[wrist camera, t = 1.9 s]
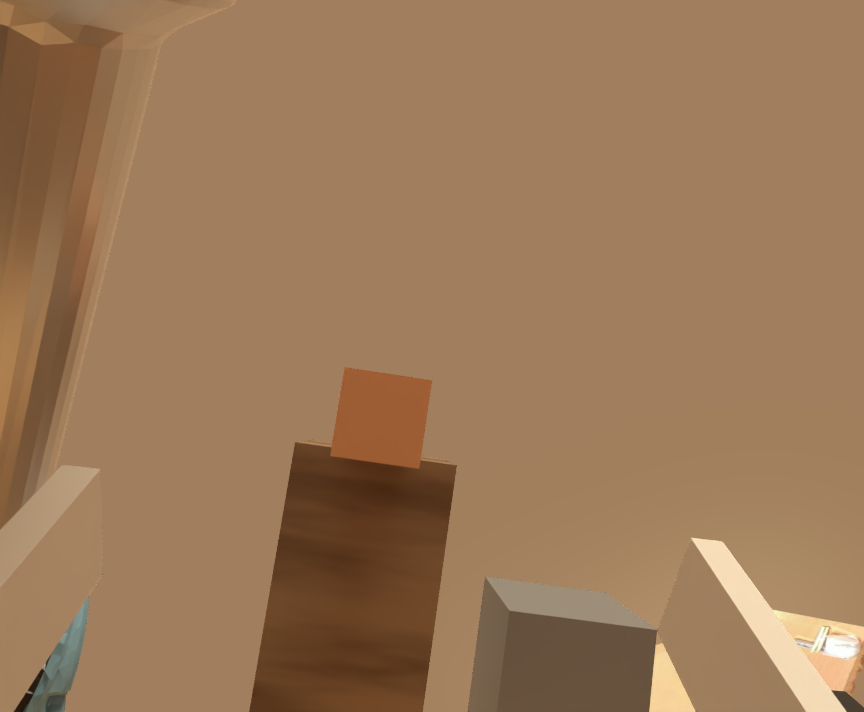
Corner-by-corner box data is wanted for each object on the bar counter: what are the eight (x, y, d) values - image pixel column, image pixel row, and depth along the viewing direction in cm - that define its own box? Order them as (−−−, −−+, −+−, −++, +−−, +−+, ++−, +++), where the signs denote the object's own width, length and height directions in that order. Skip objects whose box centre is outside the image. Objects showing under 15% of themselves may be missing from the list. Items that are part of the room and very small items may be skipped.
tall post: (241, 864, 45) (312, 439, 49) (382, 879, 46) (441, 458, 50) (202, 985, 36) (295, 442, 39) (382, 1001, 36) (456, 465, 40)
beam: (354, 444, 54) (361, 397, 55) (401, 450, 55) (408, 404, 55) (330, 456, 29) (344, 367, 29) (419, 468, 29) (432, 380, 29)
